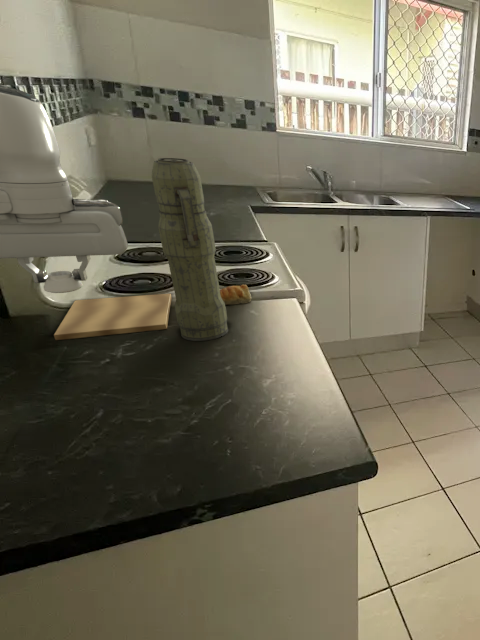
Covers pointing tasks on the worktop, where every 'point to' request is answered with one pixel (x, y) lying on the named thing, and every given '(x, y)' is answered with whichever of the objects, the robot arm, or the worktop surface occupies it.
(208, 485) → the worktop surface
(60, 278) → the white bowl
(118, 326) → the board
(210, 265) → the beige stone tall figure
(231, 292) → the pastry
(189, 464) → the worktop surface
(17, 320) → the worktop surface
